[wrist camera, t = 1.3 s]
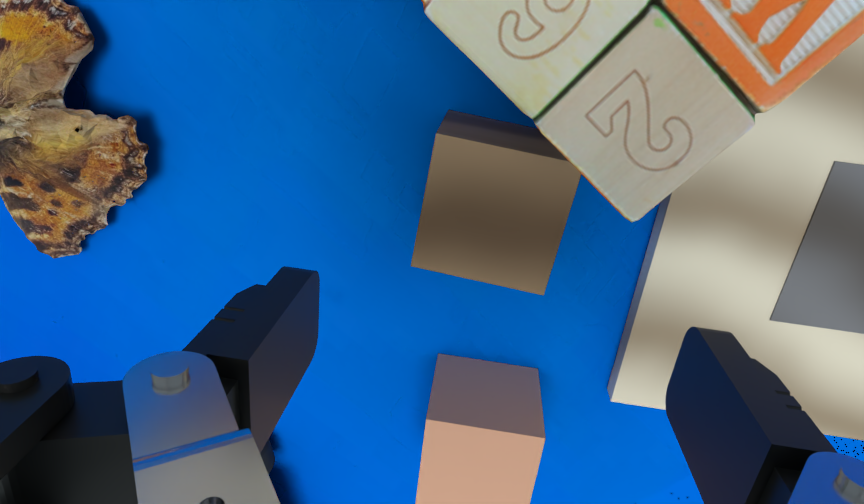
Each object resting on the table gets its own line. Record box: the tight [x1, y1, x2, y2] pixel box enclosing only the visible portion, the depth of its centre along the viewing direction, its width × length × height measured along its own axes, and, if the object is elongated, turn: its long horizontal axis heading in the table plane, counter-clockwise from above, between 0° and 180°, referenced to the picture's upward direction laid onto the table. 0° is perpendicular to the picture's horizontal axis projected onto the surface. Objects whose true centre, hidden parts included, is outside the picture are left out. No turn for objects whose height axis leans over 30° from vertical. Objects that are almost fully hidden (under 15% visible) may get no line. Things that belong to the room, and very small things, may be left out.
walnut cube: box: [411, 110, 581, 295], centre depth 22 cm, size 5×5×5 cm
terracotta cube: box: [416, 353, 545, 504], centre depth 26 cm, size 5×5×5 cm
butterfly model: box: [0, 0, 149, 258], centre depth 23 cm, size 9×12×3 cm
